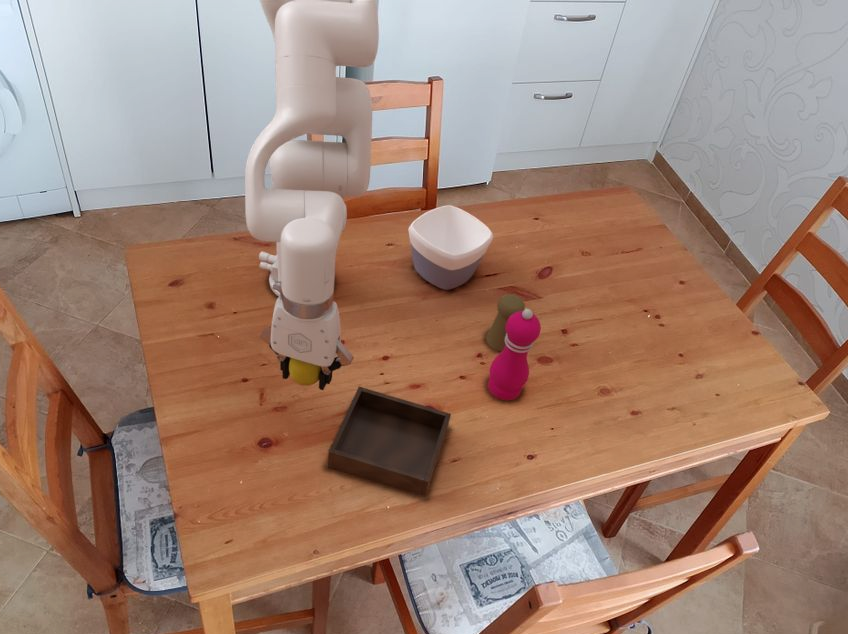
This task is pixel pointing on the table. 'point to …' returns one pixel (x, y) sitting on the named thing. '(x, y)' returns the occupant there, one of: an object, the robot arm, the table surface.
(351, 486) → the table surface
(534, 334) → the pepper mill
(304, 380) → the lemon
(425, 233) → the bowl
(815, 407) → the table surface
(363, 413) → the dark wooden tray
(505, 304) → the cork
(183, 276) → the table surface
